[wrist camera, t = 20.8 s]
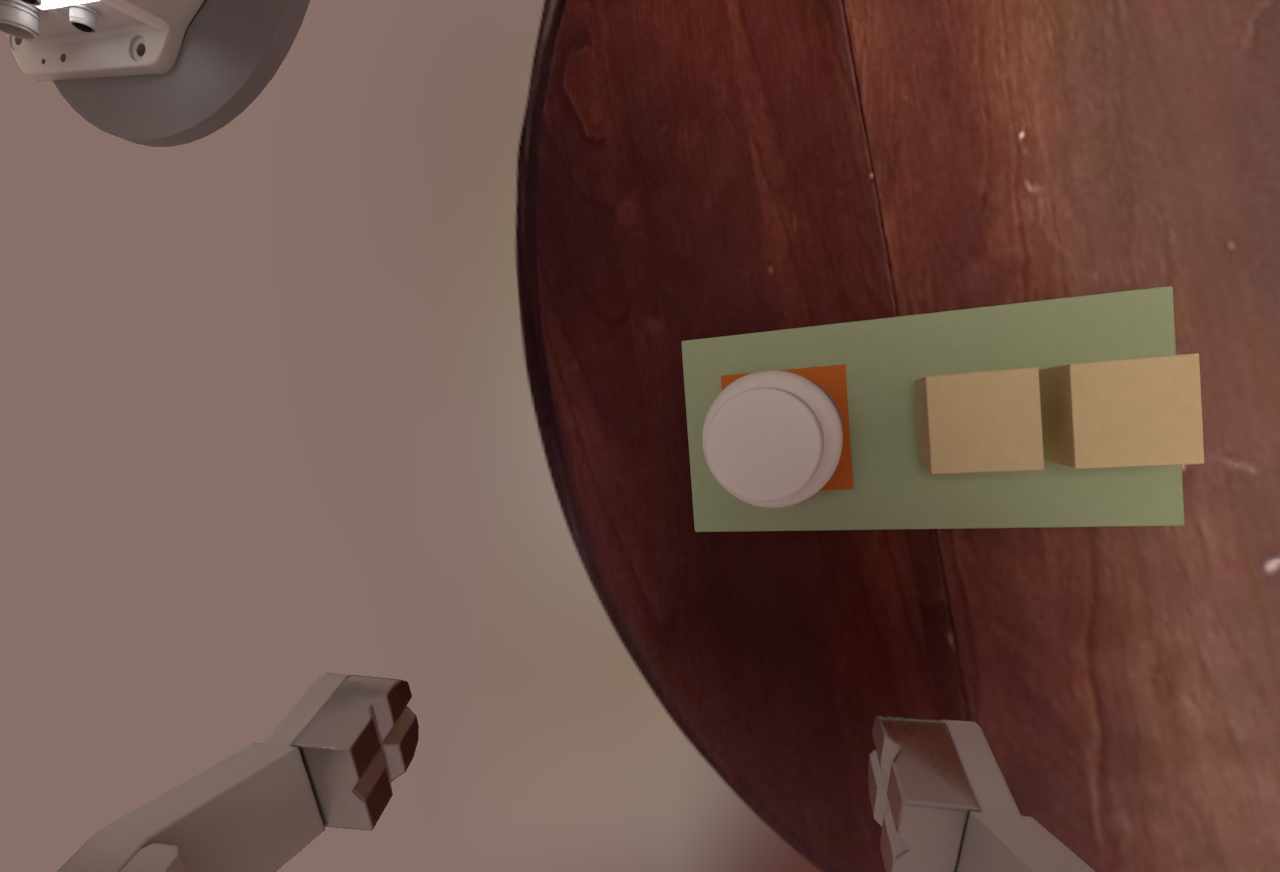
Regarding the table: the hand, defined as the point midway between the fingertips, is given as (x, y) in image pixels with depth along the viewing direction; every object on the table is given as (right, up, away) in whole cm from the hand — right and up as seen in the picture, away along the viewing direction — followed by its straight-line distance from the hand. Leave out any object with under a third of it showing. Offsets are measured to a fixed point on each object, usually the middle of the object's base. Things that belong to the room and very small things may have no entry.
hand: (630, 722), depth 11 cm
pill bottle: (+7, +5, +20) cm, 22 cm away
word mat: (+13, +6, +19) cm, 24 cm away
